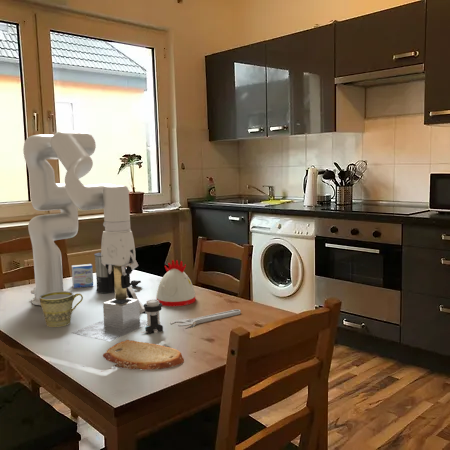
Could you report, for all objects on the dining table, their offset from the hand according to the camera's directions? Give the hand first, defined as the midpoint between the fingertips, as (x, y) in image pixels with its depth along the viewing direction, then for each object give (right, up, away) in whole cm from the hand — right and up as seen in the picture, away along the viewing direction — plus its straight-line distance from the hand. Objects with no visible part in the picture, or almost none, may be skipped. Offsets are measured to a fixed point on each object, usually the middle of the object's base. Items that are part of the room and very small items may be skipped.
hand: (120, 286), depth 157 cm
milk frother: (-10, -7, +47) cm, 49 cm away
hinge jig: (-2, -13, -2) cm, 13 cm away
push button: (+10, -14, -6) cm, 18 cm away
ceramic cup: (-18, -13, +4) cm, 23 cm away
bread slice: (+10, -16, -24) cm, 31 cm away
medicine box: (-26, -6, +54) cm, 60 cm away
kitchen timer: (+14, -9, +29) cm, 34 cm away
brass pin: (0, -4, 0) cm, 4 cm away
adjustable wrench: (+26, -12, +6) cm, 30 cm away
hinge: (0, -11, +20) cm, 22 cm away
